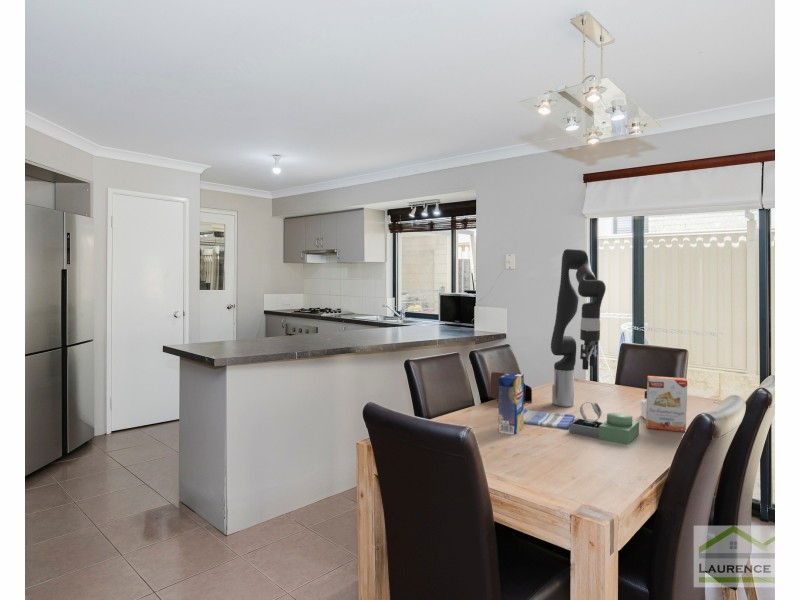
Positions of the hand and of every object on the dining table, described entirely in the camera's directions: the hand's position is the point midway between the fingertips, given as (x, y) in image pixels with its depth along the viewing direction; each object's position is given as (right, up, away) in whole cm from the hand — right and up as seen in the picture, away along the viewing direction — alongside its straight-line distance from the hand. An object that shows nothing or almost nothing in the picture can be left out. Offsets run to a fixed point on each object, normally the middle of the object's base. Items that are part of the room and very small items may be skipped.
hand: (588, 367), depth 209 cm
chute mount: (-3, -25, -8) cm, 26 cm away
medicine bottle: (+32, -24, +13) cm, 42 cm away
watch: (-2, -24, -7) cm, 25 cm away
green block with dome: (+7, -25, -13) cm, 29 cm away
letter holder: (-22, -23, +47) cm, 57 cm away
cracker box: (+30, -25, -3) cm, 39 cm away
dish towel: (-16, -25, +9) cm, 31 cm away
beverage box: (-33, -25, -4) cm, 41 cm away
